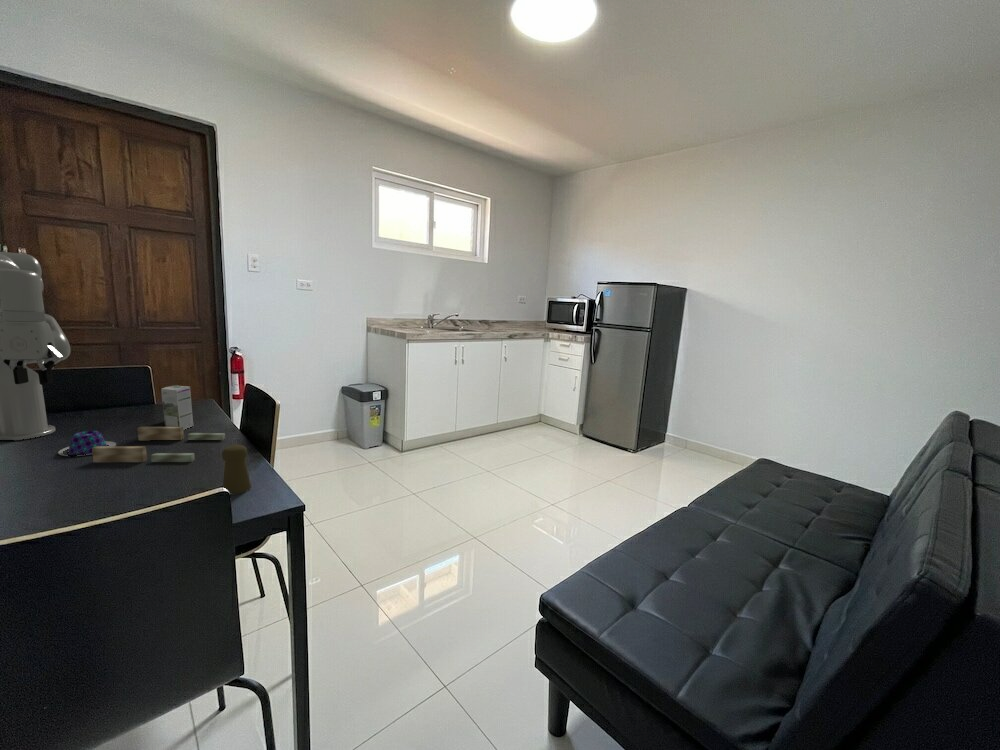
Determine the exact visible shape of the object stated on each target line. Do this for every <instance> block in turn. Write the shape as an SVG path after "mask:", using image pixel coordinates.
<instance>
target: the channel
mask: <svg viewBox="0 0 1000 750" xmlns="http://www.w3.org/2000/svg"><path fill="white" fill-rule="evenodd" d="M136 429H137V438H138V441H150V440H182V439H183V440H185V432H184V431H185V430H183V427H165V426H139V427H137V428H136ZM224 439H225V440H226V433H225V432H223V433H222V432H218V433H217V432H215V433H214V432H210V433H209V432H190V433H188V434H187V440H223V441H225V440H224ZM183 440H182V441H183ZM91 455H92V460H93V463H145V462H147V461H148V454H147V446H145V445H143V446H140V445H138V446H137V445H135V446H134V445H133V446H131V445H130V446H129V445H128V446H127V445H126V446H125V445H122V446H121V445H120V446H117V445H116V446H96V447H93V448H92V453H91ZM150 458H151V463H193V462H194V461H196V458H195V452H168V453H167V452H155V453H153V454H151V455H150Z"/></svg>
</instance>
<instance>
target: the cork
mask: <svg viewBox="0 0 1000 750" xmlns="http://www.w3.org/2000/svg"><path fill="white" fill-rule="evenodd" d="M247 456H248V449H247V447H246V446H244V445H241V444H233V445H228V446H226V447H225V448H224V449H223V450H222V452H221V458H222V460H223V461H224V470H223V480H222V481H223V482H222V488H223V487H224V488H226V489H228V490H229V491H230V493H232V494H236V495H241V494H243V492H244V493H247V492H248V491H250V490H251V489H250V488H252V483H251V481H250V480H251V479H250V476H249V471H248V466H247V461H246V458H247ZM249 489H250V490H249ZM247 490H248V491H247ZM246 491H247V492H246ZM232 494H231V495H230V496H233V495H232Z"/></svg>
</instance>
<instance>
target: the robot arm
mask: <svg viewBox="0 0 1000 750" xmlns="http://www.w3.org/2000/svg"><path fill="white" fill-rule="evenodd" d="M42 272H43V271H42V265H41V264H40V262H39V260H37V258H35V257H34V256H33V255H30V254H27V253H22V252H21V253H19V252H8V251H0V440H14V441H22V440H23V439H24V440H29V439H30V438H31V439H35V437H36V438H40V436H41V437H43V436H47V435H50V434H53V433H54V432H56V426H54V425H51V424H48V418H47V411H46V403H45V398H44V397H45V396H44V392H43V391H44V390H43V386H44V385H49V384H53V381H54V380H53V379H54V378H53V372H52V371H53V369H54V368H55V366H57V364H58V363H60V362H61V361H65V360H66V359H67V358H68V357H69V356H70V355H71V351H72V350H71V346H70V345H71V344H70V342H69V340H68V338H67V336H66V334H65V332H64V331H63V330H62V328H61V326H60V325H59V323H58V322H57V320H56V319H55V317H54V316H52V315H51V314H50V315H49V314H47V313H46V312H45V307H44V297H43V292H44V289H45V288H44V281H43V279H42V274H43V273H42ZM28 364H37V365H38V367H39V369H40V370H37V371H38V372H36V371H35V370H33V369H31V368H30V367H28V366H27V365H28ZM31 439H30V440H31Z"/></svg>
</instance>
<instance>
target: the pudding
mask: <svg viewBox="0 0 1000 750" xmlns="http://www.w3.org/2000/svg"><path fill="white" fill-rule="evenodd" d="M107 445H109V446H117V442H114V441H107V440H105V439H104V436H103V434H102V432H100V431H98V430H86V431H81V432H80V431H79V432H76V433H74V434H73V435H72V436H71V438H70V444H69V446H66V447H64V448H62V449H60V450H59V451H58V452H57V453H58V455H60V456H64V457H69V456H68V455H64V454H63V451H65V450H67V449H69V451H68V452H70V453H69V454H76V455H77V454H84V455H85V454H86V455H85V456H89V455H90V454H92V448H93V447H96V446H107ZM80 456H81V457H82V456H83V455H77V456H76V457H80Z"/></svg>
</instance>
